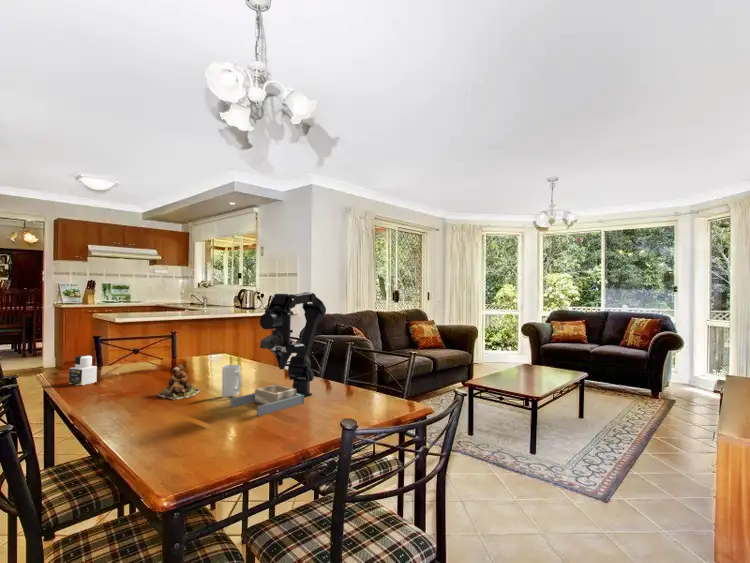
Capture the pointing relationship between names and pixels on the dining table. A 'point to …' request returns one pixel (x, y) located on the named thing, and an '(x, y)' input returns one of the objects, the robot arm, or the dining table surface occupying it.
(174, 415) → the dining table surface
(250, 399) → the bay
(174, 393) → the bear figurine
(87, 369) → the medicine bottle
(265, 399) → the crate
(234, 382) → the mug
